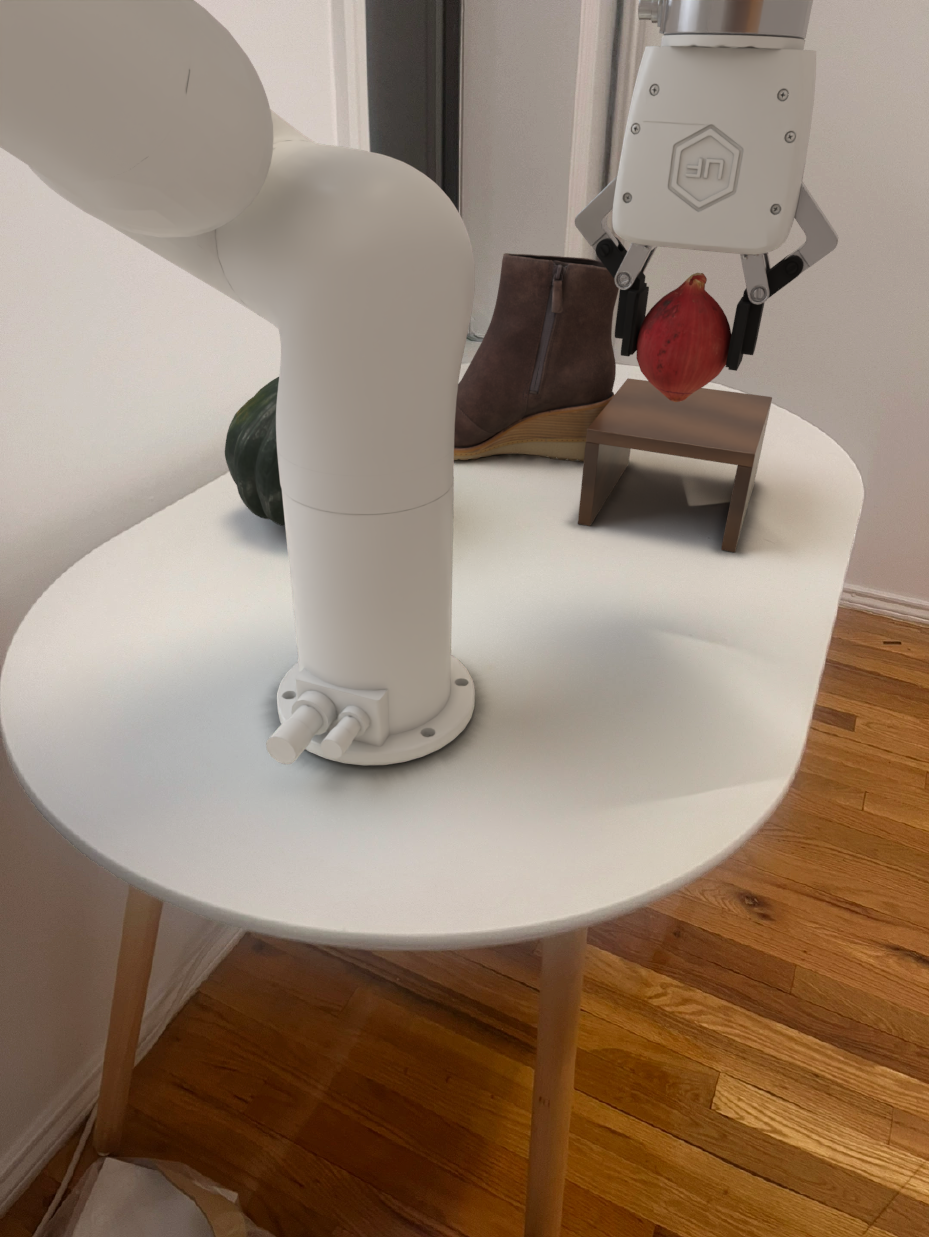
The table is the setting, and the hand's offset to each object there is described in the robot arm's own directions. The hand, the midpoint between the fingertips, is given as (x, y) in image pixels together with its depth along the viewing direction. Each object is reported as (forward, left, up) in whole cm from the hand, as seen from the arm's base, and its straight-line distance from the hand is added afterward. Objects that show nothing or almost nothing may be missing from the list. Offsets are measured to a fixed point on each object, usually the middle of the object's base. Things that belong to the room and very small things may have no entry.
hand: (681, 355), depth 56 cm
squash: (+6, +31, -20) cm, 37 cm away
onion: (0, 0, -3) cm, 3 cm away
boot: (+28, +22, -20) cm, 40 cm away
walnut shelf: (+22, +2, -20) cm, 29 cm away
